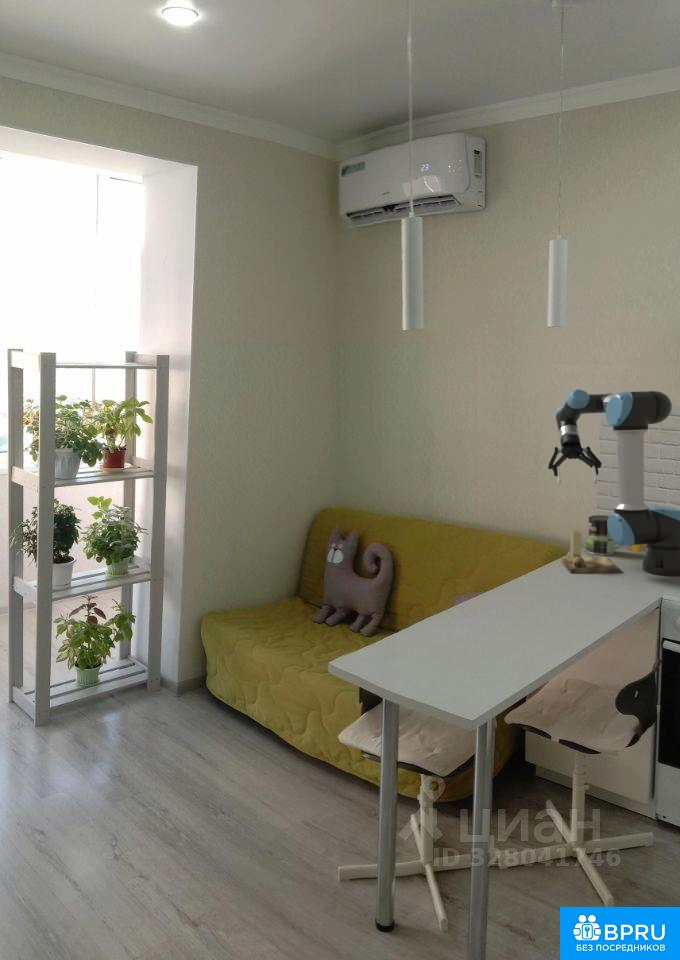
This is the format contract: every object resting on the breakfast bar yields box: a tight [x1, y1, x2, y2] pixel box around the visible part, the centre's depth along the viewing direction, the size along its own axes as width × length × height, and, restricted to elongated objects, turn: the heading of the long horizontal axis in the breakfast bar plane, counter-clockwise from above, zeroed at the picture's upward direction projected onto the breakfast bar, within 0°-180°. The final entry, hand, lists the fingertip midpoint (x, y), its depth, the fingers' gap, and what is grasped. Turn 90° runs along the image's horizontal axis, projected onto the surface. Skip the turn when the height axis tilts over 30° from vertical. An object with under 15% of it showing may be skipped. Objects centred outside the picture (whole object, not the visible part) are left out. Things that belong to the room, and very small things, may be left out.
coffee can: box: [587, 514, 616, 556], centre depth 323 cm, size 10×10×14 cm
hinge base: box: [561, 550, 621, 574], centre depth 301 cm, size 18×16×5 cm
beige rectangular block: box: [569, 529, 582, 565], centre depth 301 cm, size 4×5×12 cm
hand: (577, 481), depth 313 cm, fingers open, 13 cm apart
